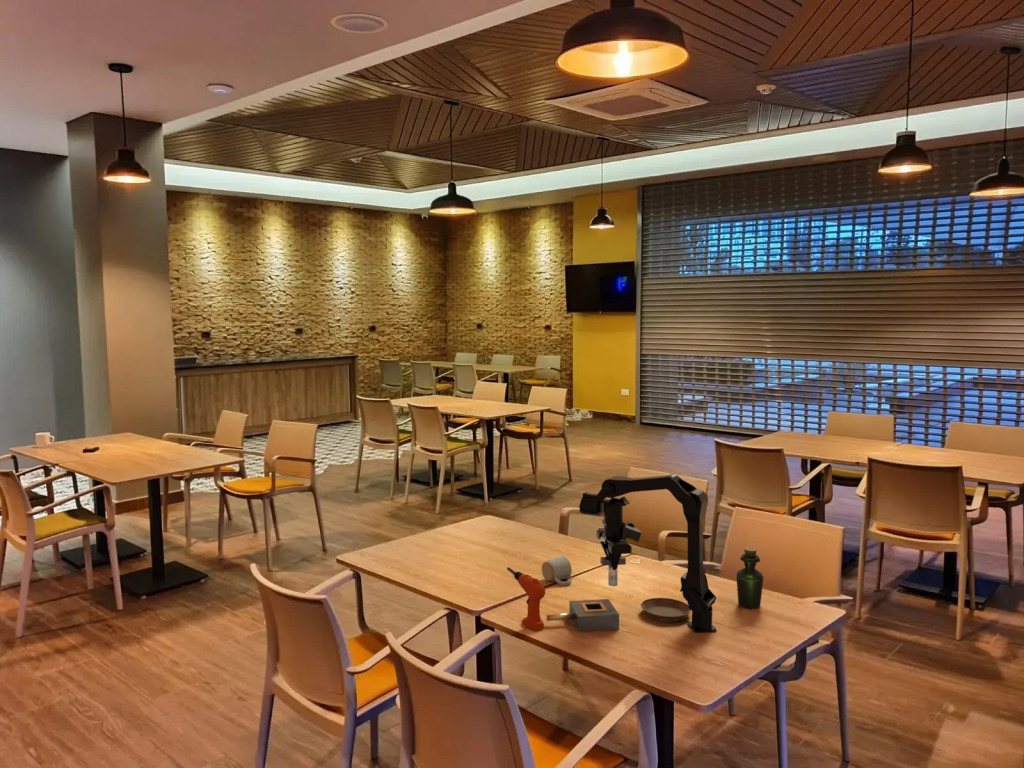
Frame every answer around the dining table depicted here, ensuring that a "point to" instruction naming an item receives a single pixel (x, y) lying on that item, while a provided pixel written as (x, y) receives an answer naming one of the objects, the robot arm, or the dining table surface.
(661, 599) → the saucer
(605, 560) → the block
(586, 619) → the block
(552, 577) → the ceramic mug
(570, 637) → the dining table surface
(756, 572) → the potion bottle
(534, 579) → the toy drill
